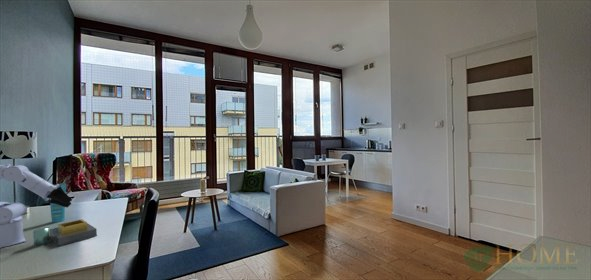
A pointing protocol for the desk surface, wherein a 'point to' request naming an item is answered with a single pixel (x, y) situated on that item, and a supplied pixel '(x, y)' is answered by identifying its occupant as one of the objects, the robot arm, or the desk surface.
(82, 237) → the grey and yellow block
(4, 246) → the robot arm
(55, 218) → the tube
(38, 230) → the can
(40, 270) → the desk surface
